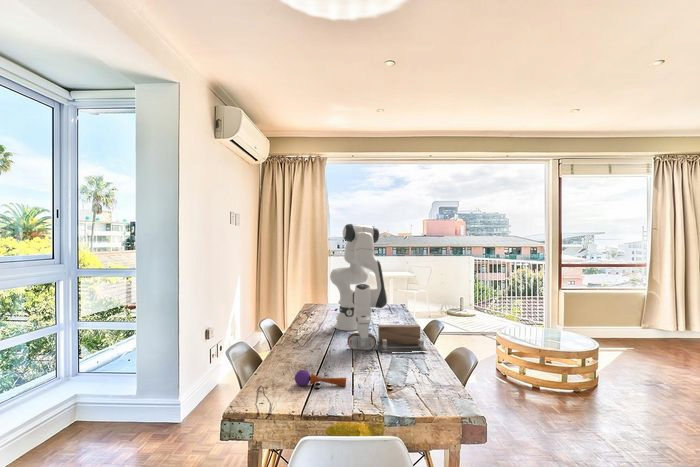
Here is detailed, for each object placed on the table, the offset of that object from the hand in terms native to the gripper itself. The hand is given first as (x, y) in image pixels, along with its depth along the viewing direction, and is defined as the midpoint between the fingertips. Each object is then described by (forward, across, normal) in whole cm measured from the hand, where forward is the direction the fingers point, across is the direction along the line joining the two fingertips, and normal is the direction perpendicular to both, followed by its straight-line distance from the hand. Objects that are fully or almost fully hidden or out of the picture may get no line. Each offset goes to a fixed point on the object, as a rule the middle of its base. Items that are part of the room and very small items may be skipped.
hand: (361, 342), depth 180 cm
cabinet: (+4, -2, +21) cm, 21 cm away
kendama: (+4, +43, -21) cm, 48 cm away
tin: (+4, 0, 0) cm, 4 cm away
